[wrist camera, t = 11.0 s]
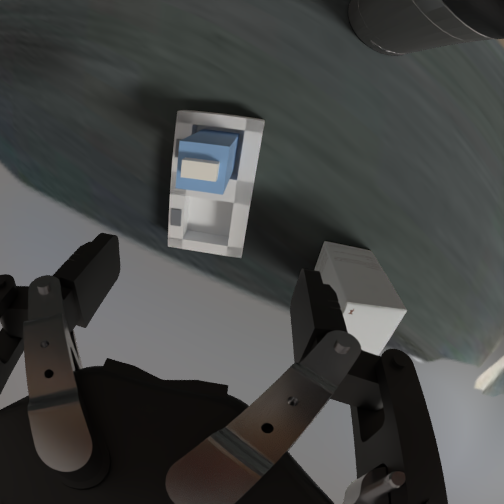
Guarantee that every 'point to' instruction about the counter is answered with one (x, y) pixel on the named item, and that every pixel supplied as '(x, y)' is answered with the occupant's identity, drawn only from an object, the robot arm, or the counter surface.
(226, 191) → the jack panel
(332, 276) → the supplement box
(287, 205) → the counter surface
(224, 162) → the plug
